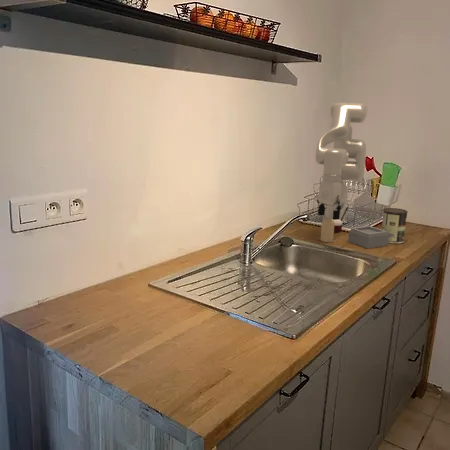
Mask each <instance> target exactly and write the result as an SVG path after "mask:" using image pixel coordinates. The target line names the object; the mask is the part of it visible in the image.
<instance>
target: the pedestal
mask: <svg viewBox="0 0 450 450" xmlns="http://www.w3.org/2000/svg"><path fill="white" fill-rule="evenodd" d="M387 233H388V232H387V231H384V230H382V228H377V227H374V226H371V225H365V226H364V225H363V226H359V227H356V226H355V227H351V228H350V230H349V231H348V238H347V239H348V240H347V242H348V243H350V244H354V245H357V246H360V247H362V248H365V249H374V248H380V247H386V246H389V243H388V239H389V234H387Z"/></svg>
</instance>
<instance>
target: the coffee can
mask: <svg viewBox="0 0 450 450" xmlns="http://www.w3.org/2000/svg"><path fill="white" fill-rule="evenodd" d="M382 211H383V212H382V213H383V214H382V223H381V230H384V231H387V232H388V233H387V234H389V239H388V244H404V242H405V235H406V225H407V219H408V217H407V216H408V212H409V211H408V210H406V209H403V208H398V207H397V208H396V207H385V208H383V210H382Z"/></svg>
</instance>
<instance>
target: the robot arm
mask: <svg viewBox="0 0 450 450" xmlns="http://www.w3.org/2000/svg"><path fill="white" fill-rule="evenodd" d="M367 115H368V106H367V104H366V103H364V102H347V101H346V102H345V101H342V102H341V101H340V102H334V103H332V104H331V106H330V116H331V123H330V129H329V130H327V131H326V132H325V133H323V135H321V137H320V138H319V140H318V141H317V144H316V145H317V146H316V149H315V150H316V151H315V162H316V163H317V164H319V165H322V166H323V173H322V180H321V182H320V185H319V189H318V190H319V191H318V194H317V195H316V196H315V197H316V202H317V206H318V212H317V215H318V216H324V217H323V218H322V221H323V220H325V219H330V218H331V219H333V220H338V219H339V220H341V218H342V216H343V214H344V212H345V210H346V208H347V201H348V191H349V190H348V189H349V188H348V186H347V185H346V183H345V182H344V181H354V182H355V181H357V182H359V181H361V180H362V179H363V178H364V174H365V167H366V166H365V165H366V156H367V155H366V154H367V144H366V142H365V140H362V139H358V138H357V139H355V138H354V139H353V137H352V136H353V128H352V126H351V123H353V124H354V123H355V124H362V123H364V122H365V120H366V118H367V117H368V116H367ZM332 143H333V146H332V147H326V146H328V145H329V144H332ZM350 159H353V161H351V160H350ZM354 160H355V161H354ZM325 205H326V206H325ZM345 219H346V214H345V215H344V217H343V220H342V222H344V221H345Z"/></svg>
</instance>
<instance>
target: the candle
mask: <svg viewBox="0 0 450 450" xmlns="http://www.w3.org/2000/svg"><path fill="white" fill-rule="evenodd" d="M334 224H335V222H334V221H333V220H332V219H331V218H330V219H325V220H323V219H322V221H321V227H320V241H321V242H324V243H333V242H334V233H335V232H334Z"/></svg>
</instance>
